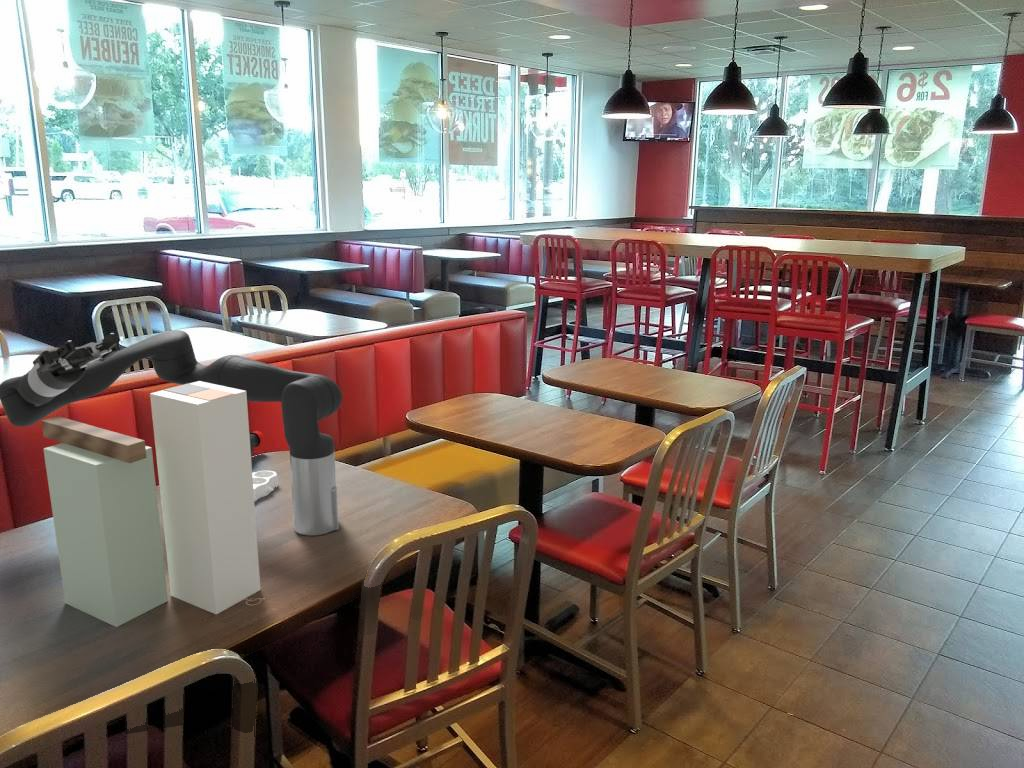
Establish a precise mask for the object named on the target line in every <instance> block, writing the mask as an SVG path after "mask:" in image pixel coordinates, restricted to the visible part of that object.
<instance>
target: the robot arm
mask: <svg viewBox="0 0 1024 768" xmlns="http://www.w3.org/2000/svg"><path fill="white" fill-rule="evenodd" d="M119 342H120V341H119V339H118V337H117V335H116V333H114V332H111V333H108V334H107V335H105V337H103V339H101V340H100V341H97V342H93V341H91V342H89V343H86V344H84V345H81V346H75V345H74V342H73V341H72V340H67V341H65V342H64V343H63V344H61V345H59V347H55V348H52V349H51V350H50V351H49V350H44V351H42V352H41V353H40V354H39V355H38V356H37V357H36V358H35V359H34V360H33V361H32V364H33V366H32V368H31V369H30V370H29V371H28V372H27V373H25V374H24V375H21V376H16V377H11V378H9V379H5V380H3V381H2V382H0V403H1V405H2V407H3V410H4V413H5V415H6V417H7V419H8V422H9V423H10V424H11V425H13V426H15V427H19V428H24V427H30V426H32V425H35V424H36V423H38V422H41V421H42V420H44V419H45V418H46V417H48V416H49V415H51V414H52V413H54V412H56V411H57V410H59V409H61V408H62V407H66V406H67V405H69V404H72V403H75V402H78V401H82V400H86V399H88V398H92V397H94V396H97V395H98V394H101V393H102V392H104V391H105V390H107V389H109V388H110V386H112V385H113V384H114V383H115V382H116V381H117V380H118V379H119V378H120V377H121V376H122V374H124V373H125V372H127V370H129V368H130V367H132V366H133V365H135V364H136V363H138V362H139V361H141V360H144V359H147V358H150V359H151V363H152V365H153V369H154V371H155V373H156V375H157V377H158V378H160V380H163V381H164V382H168V383H171V384H175V385H184V384H189V383H193V382H197V381H202V382H206V383H211V384H216V385H221V386H225V387H230V388H235V389H240V390H244V391H246V394H247V402H252V403H253V402H254V403H255V402H256V403H257V402H258V403H271V402H272V403H273V402H274V403H275V402H276V403H277V402H279V403H280V404H281V405H280V406H281V416H282V422H283V423H282V424H283V432H284V438H285V440H286V443H287V446H288V448H289V461H290V462H289V464H290V479H291V480H290V482H291V497H292V499H291V500H292V515H293V517H292V519H293V529H294V530H293V531H295V533H297V534H300V535H301V536H302V535H303V536H321V535H325V534H328V533H329V534H330V532H334V531H339V509H338V506H339V505H338V504H339V503H338V489H337V488H338V487H337V482H336V481H337V479H336V478H337V475H336V455H335V454H336V452H335V440H334V438H333V437H332V436H331V435H330V434H327V433H322V432H320V428H319V427H320V426H319V421H320V420H322V419H326V418H328V417H330V416H332V415H333V414H334V413H336V412H337V411H338V410H339V408H340V407H341V405H342V401H343V395H342V391H341V389H340V387H339V385H338V384H337V383H336V382H335V381H334V380H333V379H331V378H330V377H328V376H326V375H323V374H319V373H318V374H317V373H310V372H304V371H303V372H301V371H295V370H290V369H286V368H283V367H279V366H275V365H273V364H269V363H265V362H261V361H258V360H255V359H252V358H250V357H249V358H248V357H244V356H240V355H238V354H237V355H236V354H228V355H224V356H222V357H219V358H218V359H215V361H213V362H211V363H210V364H209V365H205V364H202V363H200V362H198V360H197V359H196V355H195V351H194V348H193V344H192V341H191V338H190V335H189V334H188V333H187V332H186V331H183V330H181V329H180V330H179V329H178V330H177V329H174V330H171V329H170V330H166V331H162V332H159V333H157V334H154V335H151V336H149V337H147V338H144V339H142V340H140V341H138V342H135V343H134V344H130V345H129V346H125V347H123V348H121V349H120V350H119V347H118V344H119ZM90 348H91V350H92V352H91V351H90Z"/></svg>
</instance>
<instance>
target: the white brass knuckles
mask: <svg viewBox="0 0 1024 768" xmlns="http://www.w3.org/2000/svg"><path fill="white" fill-rule="evenodd" d="M252 477H253V491H254V502H257V500H258V499H261V498H263V497H266V496H268V495H269V494H270V493H271V492H272V491H274V490H275V487H276V488H277V487H279V486H278V485H279V484H278V481H279V480H278V472H276V471H273V470H258V471H252Z"/></svg>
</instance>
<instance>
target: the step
mask: <svg viewBox="0 0 1024 768" xmlns="http://www.w3.org/2000/svg"><path fill="white" fill-rule="evenodd" d="M145 448H146V457H147V458H145V459H142V460H139V461H136V462H133V463H127V462H124V461H121V460H117V459H114V458H111V457H108V456H104V455H101V454H98V453H95V452H91V451H88V450H85V449H82V448H78V447H75V446H72V445H69V444H65V443H62V442H60V443H58V444H55V445H51V446H47V447H44V448H43V450H42V451H43V454H44V463H45V469H46V478H47V483H48V491H49V498H50V503H51V513H52V519H53V526H54V533H55V539H56V546H57V547H56V548H57V555H58V560H59V568H60V575H61V581H62V582H61V583H62V588H63V594H64V601H65V602H64V604H66V605H69V606H71V607H72V608H75V609H77V610H79V611H81V612H83V613H85V614H88V615H90V616H92V617H94V618H96V619H97V620H100V621H102V622H104V623H107V624H109V625H111V626H113V627H115V628H118V627H119V626H122V625H124V624H126V623H127V622H129V621H131V620H134V619H136V618H137V617H139V616H141V615H143V614H145V613H148V612H150V611H151V610H153V609H155V608H156V607H159V606H161V605H163V604H165V603H166V602H168V601H169V599H168V589H167V580H166V579H167V578H166V572H165V561H164V559H165V558H164V553H163V551H164V550H163V541H162V533H161V532H162V531H161V523H160V513H159V506H158V505H159V504H158V496H157V495H158V494H157V486H156V475H155V466H154V456H153V449H152V448H153V447H151V446H148V445H145Z"/></svg>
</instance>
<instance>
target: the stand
mask: <svg viewBox="0 0 1024 768" xmlns="http://www.w3.org/2000/svg"><path fill="white" fill-rule="evenodd" d="M149 398H150V407H151V417H152V426H153V427H152V429H153V435H154V436H153V437H154V445H155V454H156V456H155V457H156V464H157V465H156V466H157V475H158V485H159V493H160V495H159V496H160V503H161V512H162V513H161V514H162V523H163V530H164V531H163V532H164V540H165V541H164V542H165V550H166V551H165V553H166V558H167V559H166V560H167V571H168V579H169V581H168V582H169V589H170V596H171V597H173V598H175V599H178V600H181V601H182V602H183V601H184V602H185V603H188V604H190V605H192V606H195V607H197V608H199V609H203V610H204V611H207V612H209V613H212V614H214V615H218V614H220V613H221V612H223V611H225V610H227V609H229V608H230V607H232V606H235V605H236V604H238V603H240V602H241V601H243V600H245V599H247V598H248V597H250V596H252V595H254V594H256V593H257V592H259V591H260V590H262V588H261V578H260V577H261V576H260V564H259V563H260V561H259V551H258V550H259V548H258V539H257V538H258V536H257V524H256V523H257V522H256V519H257V518H256V507H255V501H254V491H253V477H252V473H253V465H252V454H251V450H250V436H249V433H250V425H249V424H250V423H249V411H248V409H249V408H248V401H247V394H246V391H244V390H240V389H235V388H230V387H225V386H221V385H216V384H211V383H206V382H202V381H197V382H193V383H189V384H184V385H182V384H179V385H176V386H172V387H169V388H165V389H161V390H158V391H155V392H151V393H149Z"/></svg>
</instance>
